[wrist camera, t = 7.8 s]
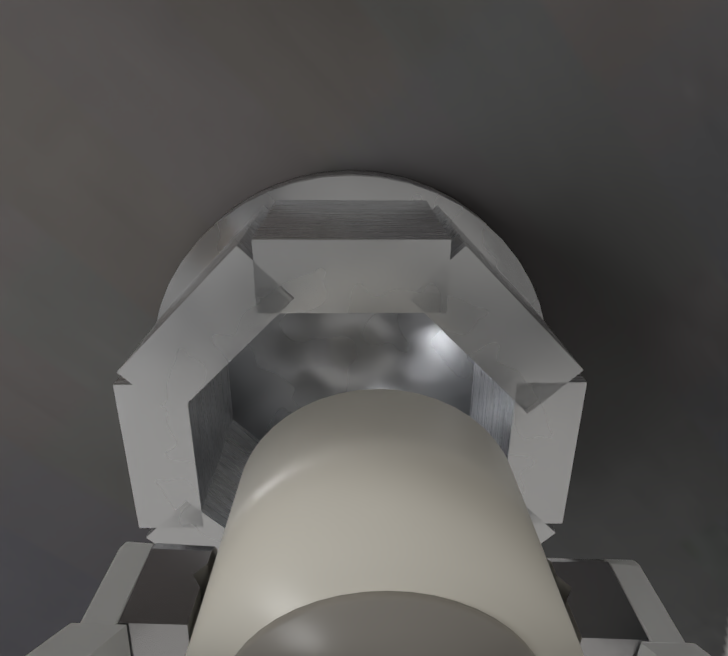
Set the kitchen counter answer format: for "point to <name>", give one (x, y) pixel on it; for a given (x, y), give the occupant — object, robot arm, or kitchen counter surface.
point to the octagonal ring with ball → (339, 342)
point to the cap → (380, 541)
